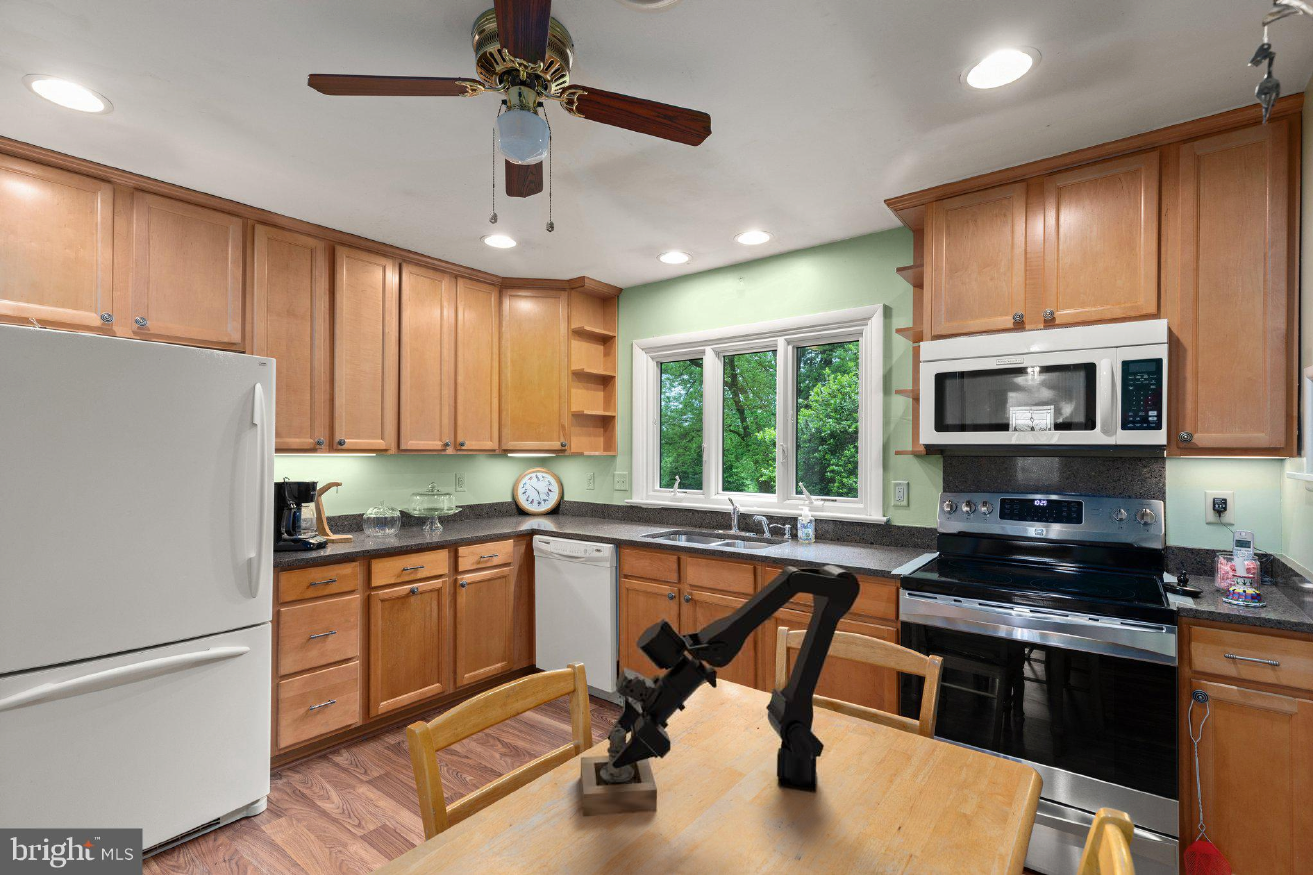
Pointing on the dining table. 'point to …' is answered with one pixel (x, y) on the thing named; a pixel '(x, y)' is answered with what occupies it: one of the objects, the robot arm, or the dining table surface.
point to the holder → (616, 789)
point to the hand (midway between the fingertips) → (611, 752)
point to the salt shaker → (616, 745)
